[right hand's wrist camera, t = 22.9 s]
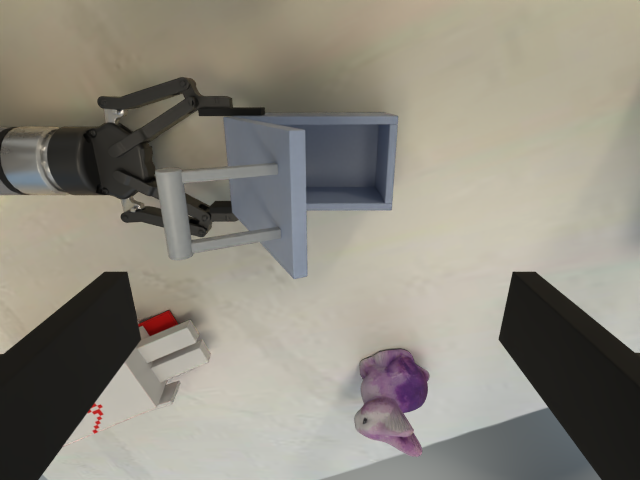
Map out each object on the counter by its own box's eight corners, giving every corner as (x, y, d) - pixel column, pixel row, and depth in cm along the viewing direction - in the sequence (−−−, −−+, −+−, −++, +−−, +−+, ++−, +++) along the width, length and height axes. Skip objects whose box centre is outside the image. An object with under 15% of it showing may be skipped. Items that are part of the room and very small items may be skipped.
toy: (212, 398, 50) (6, 485, 50) (224, 342, 62) (60, 411, 62) (167, 327, 46) (-57, 421, 46) (189, 282, 58) (13, 356, 58)
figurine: (343, 373, 60) (350, 457, 46) (389, 333, 57) (411, 410, 43) (384, 403, 62) (402, 492, 48) (430, 367, 59) (463, 450, 45)
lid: (305, 129, 22) (151, 136, 19) (307, 276, 26) (178, 305, 22) (234, 116, 37) (139, 118, 34) (241, 211, 41) (157, 222, 37)
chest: (384, 112, 46) (398, 116, 37) (380, 191, 49) (391, 210, 41) (246, 112, 46) (230, 116, 37) (252, 191, 49) (238, 210, 41)
